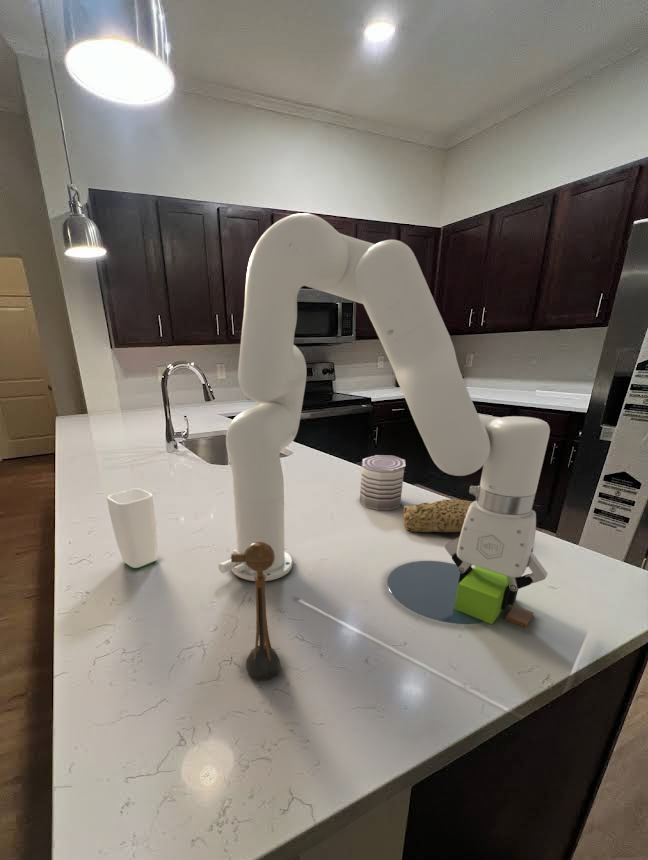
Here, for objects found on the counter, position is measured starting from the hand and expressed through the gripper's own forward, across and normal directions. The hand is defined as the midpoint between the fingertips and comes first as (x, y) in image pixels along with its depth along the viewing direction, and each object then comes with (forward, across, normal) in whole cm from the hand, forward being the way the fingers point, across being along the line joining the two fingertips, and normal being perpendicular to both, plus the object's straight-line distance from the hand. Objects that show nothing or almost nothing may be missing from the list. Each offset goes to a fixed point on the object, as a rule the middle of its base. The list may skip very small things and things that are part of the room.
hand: (484, 597), depth 71 cm
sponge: (+2, -18, +26) cm, 31 cm away
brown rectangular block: (+2, +6, 0) cm, 6 cm away
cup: (+1, -58, -32) cm, 66 cm away
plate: (+2, -7, 0) cm, 7 cm away
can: (+2, -38, +30) cm, 48 cm away
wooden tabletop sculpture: (+2, -18, -36) cm, 40 cm away
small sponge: (+1, 0, 0) cm, 1 cm away
